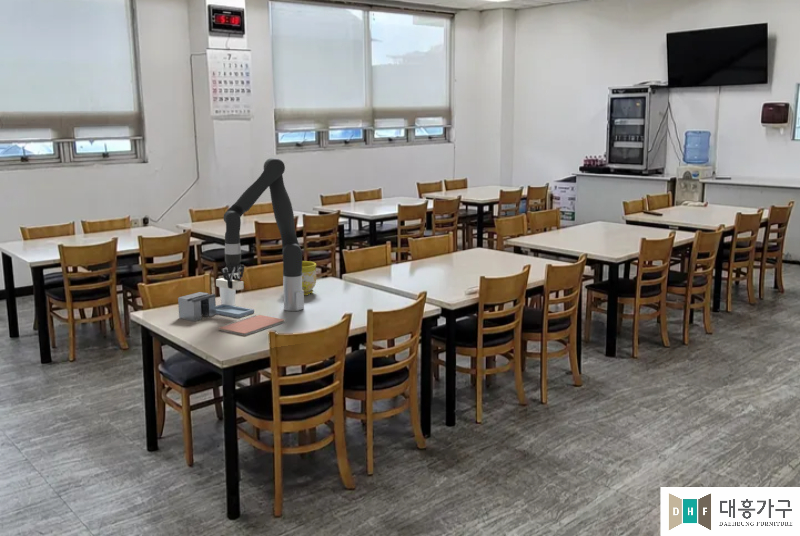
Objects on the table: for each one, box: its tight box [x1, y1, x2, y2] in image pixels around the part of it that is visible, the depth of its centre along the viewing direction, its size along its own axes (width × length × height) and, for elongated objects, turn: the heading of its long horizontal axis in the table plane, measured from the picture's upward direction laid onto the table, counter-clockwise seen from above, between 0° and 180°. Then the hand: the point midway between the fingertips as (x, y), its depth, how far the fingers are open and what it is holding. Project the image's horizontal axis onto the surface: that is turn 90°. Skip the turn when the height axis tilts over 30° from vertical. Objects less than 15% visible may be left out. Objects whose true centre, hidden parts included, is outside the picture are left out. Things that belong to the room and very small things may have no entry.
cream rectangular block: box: [215, 277, 244, 291], centre depth 354 cm, size 14×4×4 cm, turn 60°
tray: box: [216, 304, 255, 319], centre depth 356 cm, size 20×11×2 cm, turn 60°
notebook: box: [218, 314, 285, 337], centre depth 333 cm, size 27×17×2 cm, turn 149°
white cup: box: [219, 287, 237, 306], centre depth 369 cm, size 8×8×10 cm
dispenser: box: [177, 291, 217, 322], centre depth 347 cm, size 10×14×10 cm
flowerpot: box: [302, 260, 317, 296], centre depth 397 cm, size 18×18×16 cm
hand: (233, 287), depth 353 cm, fingers closed on cream rectangular block, 4 cm apart
